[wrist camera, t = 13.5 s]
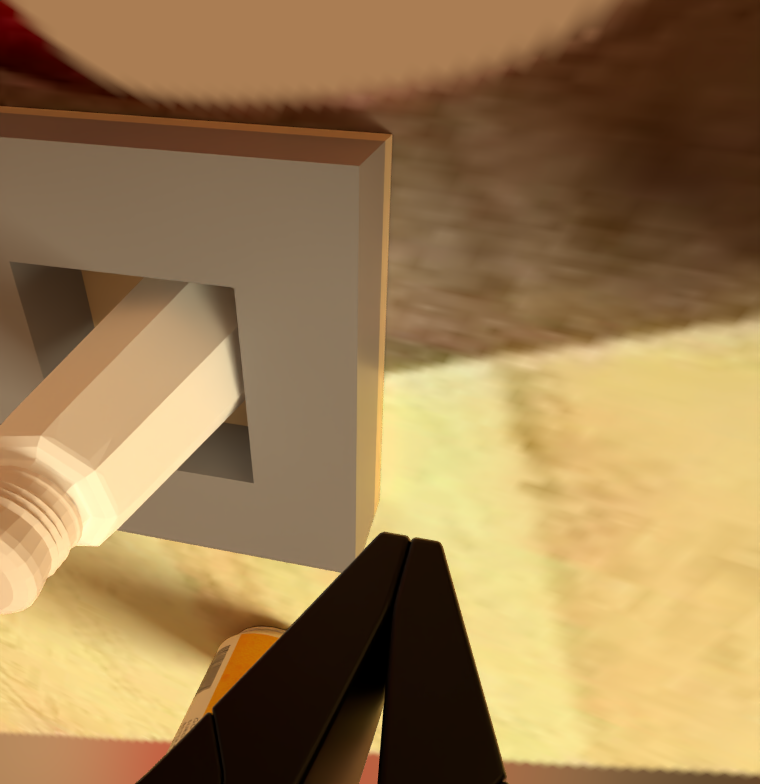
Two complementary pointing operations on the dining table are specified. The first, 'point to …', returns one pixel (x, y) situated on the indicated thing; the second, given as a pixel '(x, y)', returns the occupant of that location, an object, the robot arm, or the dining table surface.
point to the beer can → (227, 672)
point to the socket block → (252, 296)
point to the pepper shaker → (113, 425)
